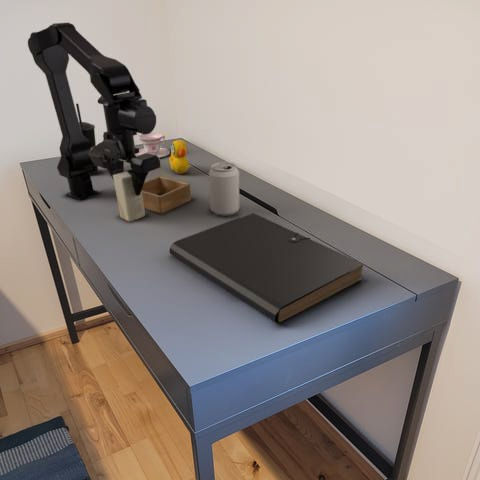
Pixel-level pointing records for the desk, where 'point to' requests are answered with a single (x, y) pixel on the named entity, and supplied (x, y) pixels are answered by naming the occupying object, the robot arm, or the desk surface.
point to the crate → (171, 198)
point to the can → (224, 188)
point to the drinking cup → (87, 133)
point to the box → (128, 197)
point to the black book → (268, 265)
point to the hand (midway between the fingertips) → (129, 192)
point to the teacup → (152, 145)
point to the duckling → (179, 157)
